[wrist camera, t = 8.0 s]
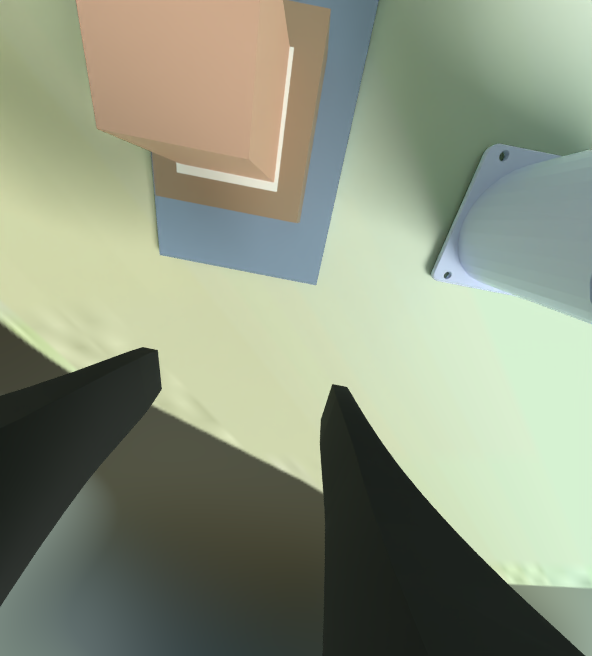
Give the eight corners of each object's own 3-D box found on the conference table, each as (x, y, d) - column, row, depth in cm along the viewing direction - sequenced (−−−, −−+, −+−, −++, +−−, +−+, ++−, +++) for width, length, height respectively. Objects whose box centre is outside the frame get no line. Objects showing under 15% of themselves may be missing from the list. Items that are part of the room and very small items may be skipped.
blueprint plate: (388, -46, 11) (420, -164, 7) (316, 283, 18) (316, 297, 14) (137, -97, 11) (57, -240, 7) (164, 253, 18) (129, 261, 14)
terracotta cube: (289, 46, 10) (267, -106, 5) (274, 182, 12) (248, 159, 7) (174, 22, 10) (50, -151, 5) (180, 163, 12) (96, 128, 7)
